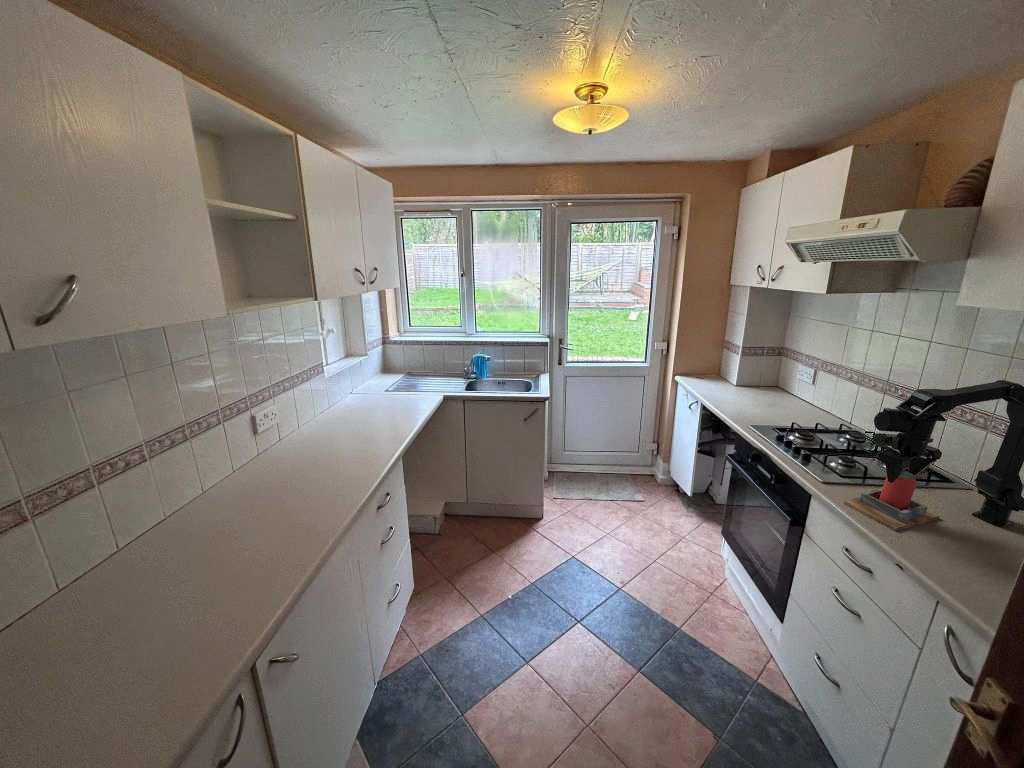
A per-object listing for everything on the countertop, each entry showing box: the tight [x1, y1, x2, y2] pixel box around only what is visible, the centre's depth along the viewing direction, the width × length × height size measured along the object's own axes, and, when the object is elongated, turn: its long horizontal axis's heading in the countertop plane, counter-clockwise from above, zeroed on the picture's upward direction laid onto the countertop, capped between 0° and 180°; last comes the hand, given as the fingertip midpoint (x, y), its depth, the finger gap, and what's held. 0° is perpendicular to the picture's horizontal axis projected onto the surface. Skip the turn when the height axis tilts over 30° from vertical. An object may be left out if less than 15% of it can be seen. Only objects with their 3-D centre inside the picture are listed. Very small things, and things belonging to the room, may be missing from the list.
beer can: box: [879, 470, 917, 511], centre depth 121 cm, size 7×7×12 cm
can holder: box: [843, 487, 941, 532], centre depth 122 cm, size 20×14×4 cm
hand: (900, 479), depth 120 cm, fingers open, 9 cm apart
